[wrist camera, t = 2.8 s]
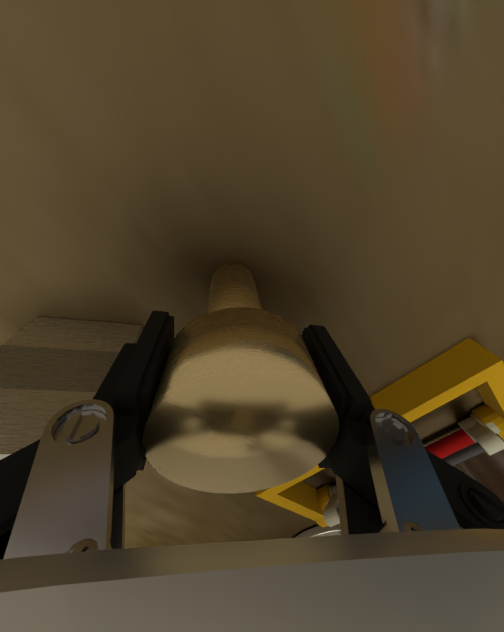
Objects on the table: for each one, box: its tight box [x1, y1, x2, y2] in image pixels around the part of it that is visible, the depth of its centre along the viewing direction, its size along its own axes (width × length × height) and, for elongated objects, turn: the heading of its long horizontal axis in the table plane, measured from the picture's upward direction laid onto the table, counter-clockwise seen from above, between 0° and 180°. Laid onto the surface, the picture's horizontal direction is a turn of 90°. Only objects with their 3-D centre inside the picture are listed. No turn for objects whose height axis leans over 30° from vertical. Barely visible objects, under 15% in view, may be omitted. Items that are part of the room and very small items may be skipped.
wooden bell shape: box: [142, 263, 339, 493], centre depth 11 cm, size 5×5×11 cm
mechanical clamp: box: [256, 338, 504, 527], centre depth 23 cm, size 18×6×30 cm
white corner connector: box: [0, 317, 143, 460], centre depth 17 cm, size 16×16×9 cm
